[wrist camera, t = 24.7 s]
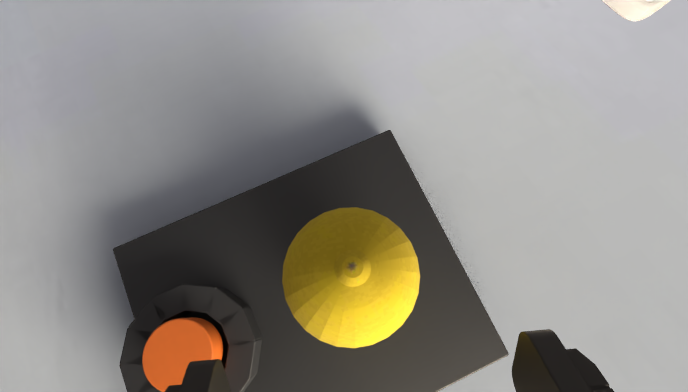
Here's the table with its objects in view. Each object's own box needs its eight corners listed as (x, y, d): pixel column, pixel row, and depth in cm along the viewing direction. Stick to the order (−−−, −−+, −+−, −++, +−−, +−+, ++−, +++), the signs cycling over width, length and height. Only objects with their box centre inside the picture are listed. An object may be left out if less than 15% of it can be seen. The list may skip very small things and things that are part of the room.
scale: (200, 501, 20) (170, 541, 16) (122, 256, 23) (84, 247, 20) (495, 350, 22) (523, 359, 18) (386, 142, 25) (393, 115, 21)
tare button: (169, 399, 18) (153, 407, 17) (149, 334, 19) (132, 336, 17) (233, 369, 18) (223, 374, 17) (210, 306, 19) (199, 306, 18)
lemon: (379, 212, 22) (399, 160, 14) (421, 315, 20) (468, 320, 13) (280, 249, 21) (243, 216, 13) (316, 357, 20) (298, 389, 12)
